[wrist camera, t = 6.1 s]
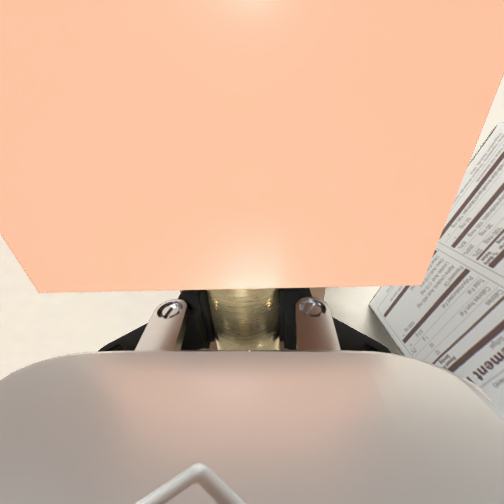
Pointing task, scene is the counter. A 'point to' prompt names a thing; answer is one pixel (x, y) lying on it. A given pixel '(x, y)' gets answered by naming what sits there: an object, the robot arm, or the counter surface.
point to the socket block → (238, 138)
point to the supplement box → (460, 284)
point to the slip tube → (245, 318)
